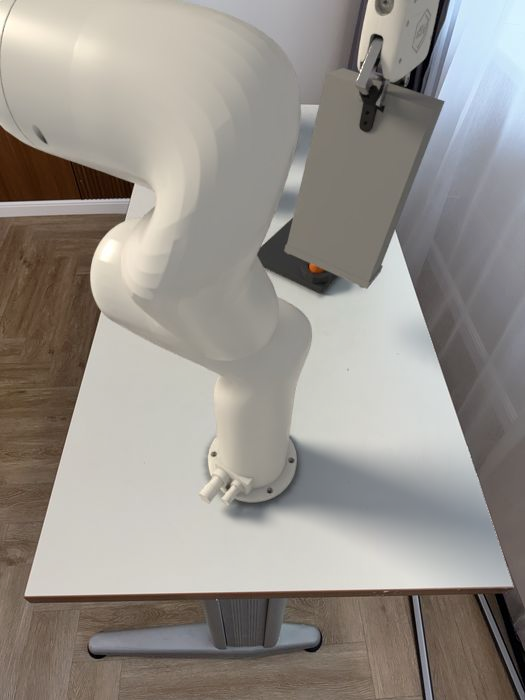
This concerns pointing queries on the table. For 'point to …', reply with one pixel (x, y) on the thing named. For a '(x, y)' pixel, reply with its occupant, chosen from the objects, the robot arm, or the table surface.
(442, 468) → the table surface
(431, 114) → the grey tall block
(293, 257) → the scale
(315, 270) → the tare button
